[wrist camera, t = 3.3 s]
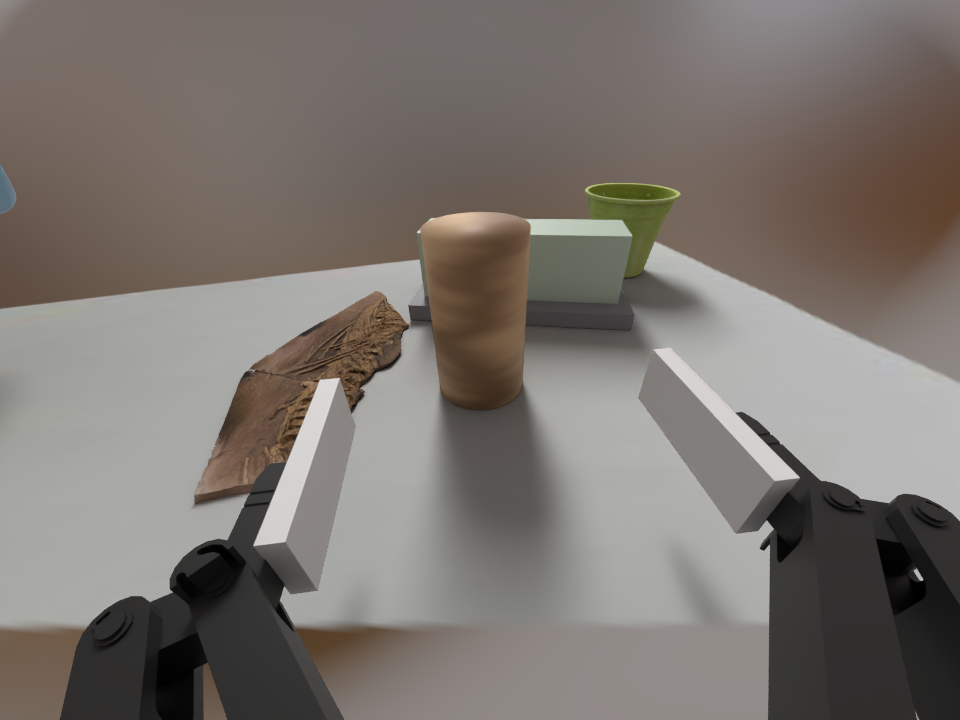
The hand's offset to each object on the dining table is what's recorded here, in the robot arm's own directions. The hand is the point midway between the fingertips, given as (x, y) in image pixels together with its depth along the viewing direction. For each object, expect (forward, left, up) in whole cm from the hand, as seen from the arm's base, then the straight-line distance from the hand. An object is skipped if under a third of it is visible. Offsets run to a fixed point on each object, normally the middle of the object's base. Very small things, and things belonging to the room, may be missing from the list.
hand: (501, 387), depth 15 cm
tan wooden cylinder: (-2, +8, -6) cm, 11 cm away
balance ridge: (0, +21, -6) cm, 22 cm away
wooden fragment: (-15, +10, -7) cm, 19 cm away
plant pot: (+11, +31, -7) cm, 34 cm away
